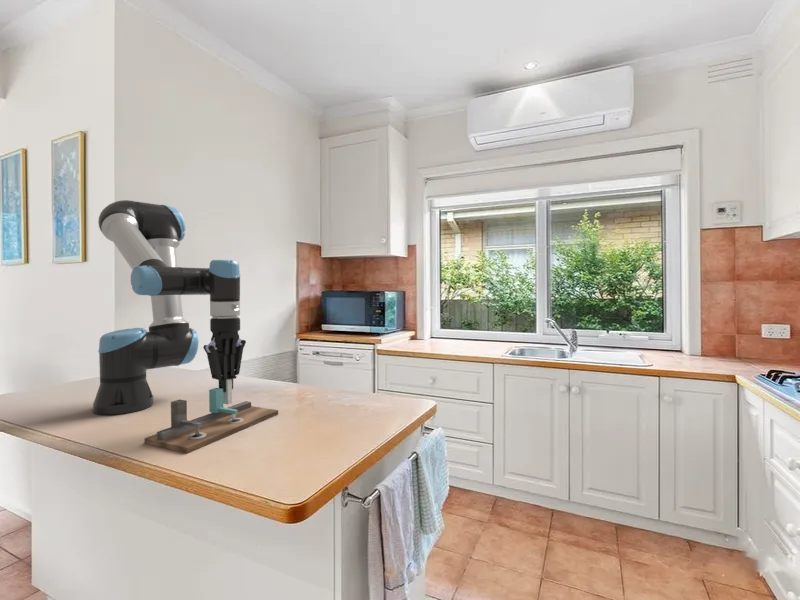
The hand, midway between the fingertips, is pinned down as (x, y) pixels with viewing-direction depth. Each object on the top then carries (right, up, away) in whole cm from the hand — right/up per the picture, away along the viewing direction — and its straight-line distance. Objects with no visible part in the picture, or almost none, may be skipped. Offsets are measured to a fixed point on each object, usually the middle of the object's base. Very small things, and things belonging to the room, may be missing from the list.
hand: (226, 402), depth 114 cm
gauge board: (+1, -5, -6) cm, 8 cm away
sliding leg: (+1, -3, -4) cm, 5 cm away
